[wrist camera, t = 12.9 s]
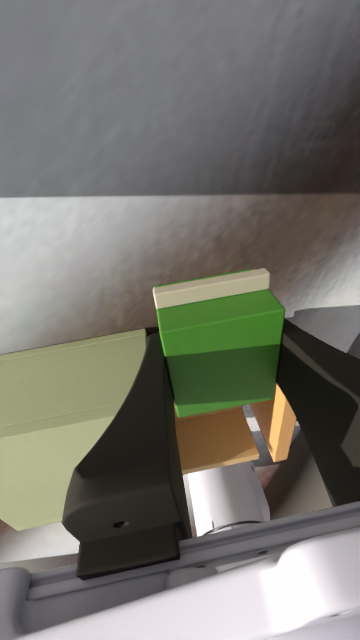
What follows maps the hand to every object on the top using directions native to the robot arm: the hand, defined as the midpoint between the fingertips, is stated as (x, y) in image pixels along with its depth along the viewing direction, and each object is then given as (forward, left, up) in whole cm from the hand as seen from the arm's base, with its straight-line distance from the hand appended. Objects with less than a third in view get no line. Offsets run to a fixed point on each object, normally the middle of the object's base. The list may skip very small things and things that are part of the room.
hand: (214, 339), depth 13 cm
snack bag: (0, 0, -1) cm, 1 cm away
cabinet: (-4, +15, -8) cm, 17 cm away
